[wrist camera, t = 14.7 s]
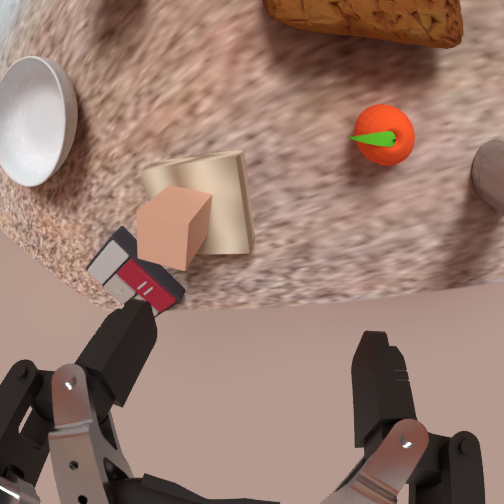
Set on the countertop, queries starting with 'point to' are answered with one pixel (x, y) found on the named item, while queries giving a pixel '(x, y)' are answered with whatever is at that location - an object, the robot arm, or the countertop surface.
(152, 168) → the birch block
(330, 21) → the clay tablet
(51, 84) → the serving bowl
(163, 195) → the terracotta block
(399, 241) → the countertop surface
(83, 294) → the countertop surface
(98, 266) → the grey and red box
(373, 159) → the clementine
